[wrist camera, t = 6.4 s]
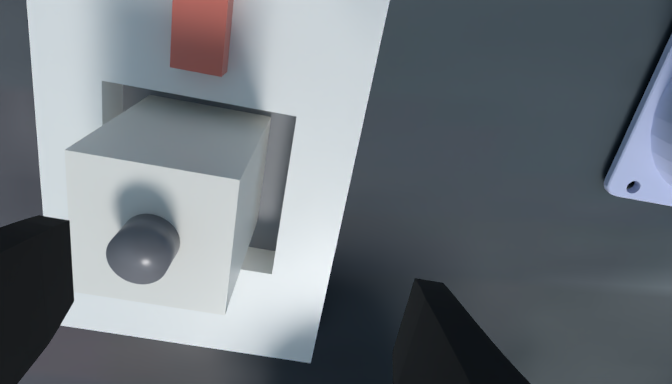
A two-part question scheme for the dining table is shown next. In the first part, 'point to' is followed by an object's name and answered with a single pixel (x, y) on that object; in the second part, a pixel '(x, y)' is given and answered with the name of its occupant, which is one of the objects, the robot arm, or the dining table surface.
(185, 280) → the plug
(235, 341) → the socket plate
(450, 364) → the robot arm
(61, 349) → the dining table surface
